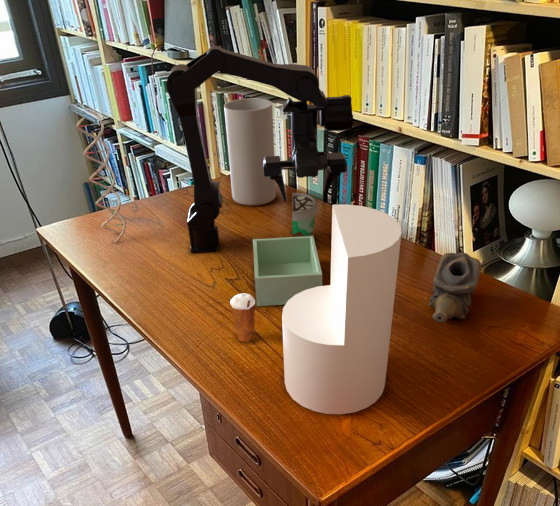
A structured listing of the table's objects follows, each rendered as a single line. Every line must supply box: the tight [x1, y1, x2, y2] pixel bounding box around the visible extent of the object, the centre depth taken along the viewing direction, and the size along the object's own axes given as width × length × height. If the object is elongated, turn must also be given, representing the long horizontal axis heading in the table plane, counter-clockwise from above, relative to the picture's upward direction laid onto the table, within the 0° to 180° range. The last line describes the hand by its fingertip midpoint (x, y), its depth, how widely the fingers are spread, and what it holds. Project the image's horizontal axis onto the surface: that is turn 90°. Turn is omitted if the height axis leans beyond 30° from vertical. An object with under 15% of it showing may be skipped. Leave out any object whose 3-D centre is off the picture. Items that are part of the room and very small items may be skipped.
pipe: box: [428, 252, 482, 324], centre depth 107 cm, size 9×22×10 cm, turn 166°
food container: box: [291, 192, 319, 237], centre depth 136 cm, size 12×6×10 cm, turn 179°
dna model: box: [74, 109, 127, 244], centre depth 135 cm, size 7×6×30 cm
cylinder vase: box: [223, 97, 277, 207], centre depth 153 cm, size 12×12×25 cm
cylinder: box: [281, 204, 403, 415], centre depth 88 cm, size 17×17×28 cm
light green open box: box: [252, 235, 323, 307], centre depth 121 cm, size 14×18×7 cm
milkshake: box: [229, 292, 256, 343], centre depth 104 cm, size 4×5×10 cm
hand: (304, 200), depth 132 cm, fingers open, 9 cm apart
